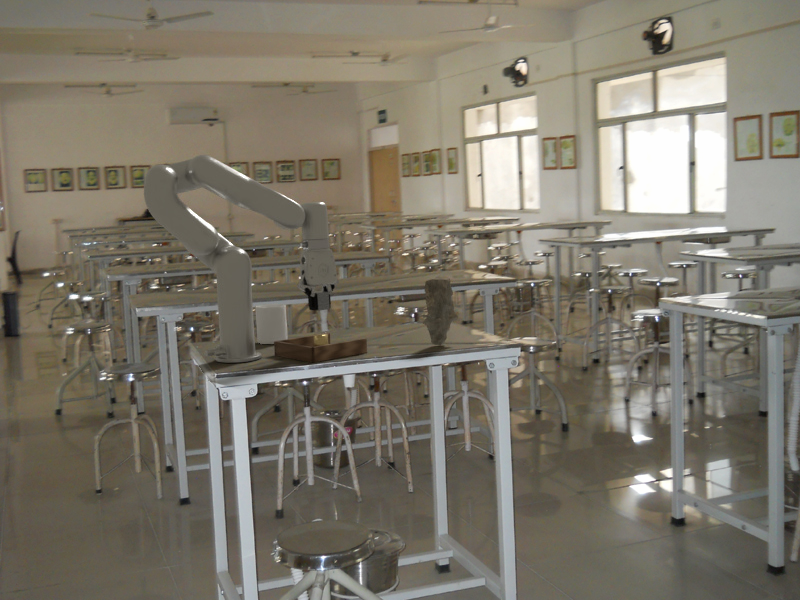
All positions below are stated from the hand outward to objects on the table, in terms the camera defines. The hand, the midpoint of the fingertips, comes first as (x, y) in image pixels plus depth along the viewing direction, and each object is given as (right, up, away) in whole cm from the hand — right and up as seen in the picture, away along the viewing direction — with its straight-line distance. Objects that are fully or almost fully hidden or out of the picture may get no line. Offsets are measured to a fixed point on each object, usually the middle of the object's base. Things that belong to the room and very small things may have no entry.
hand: (320, 308), depth 235 cm
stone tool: (+35, -11, +4) cm, 37 cm away
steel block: (0, 0, 0) cm, 0 cm away
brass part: (+1, -13, -6) cm, 15 cm away
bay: (0, -13, -3) cm, 13 cm away
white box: (-17, -11, +23) cm, 31 cm away
